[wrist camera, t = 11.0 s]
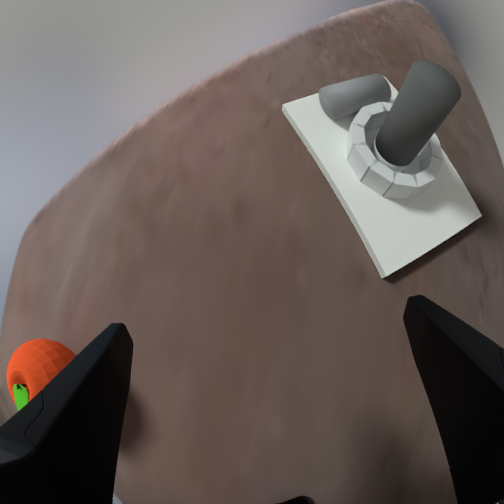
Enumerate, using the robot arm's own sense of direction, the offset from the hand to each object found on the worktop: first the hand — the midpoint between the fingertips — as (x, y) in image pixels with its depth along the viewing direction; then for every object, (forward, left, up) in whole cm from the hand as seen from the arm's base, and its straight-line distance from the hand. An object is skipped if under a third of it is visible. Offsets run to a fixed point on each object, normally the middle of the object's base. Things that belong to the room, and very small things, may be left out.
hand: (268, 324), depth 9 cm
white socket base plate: (+8, -15, -14) cm, 22 cm away
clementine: (+2, +18, -14) cm, 22 cm away
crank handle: (+8, -15, -13) cm, 21 cm away
